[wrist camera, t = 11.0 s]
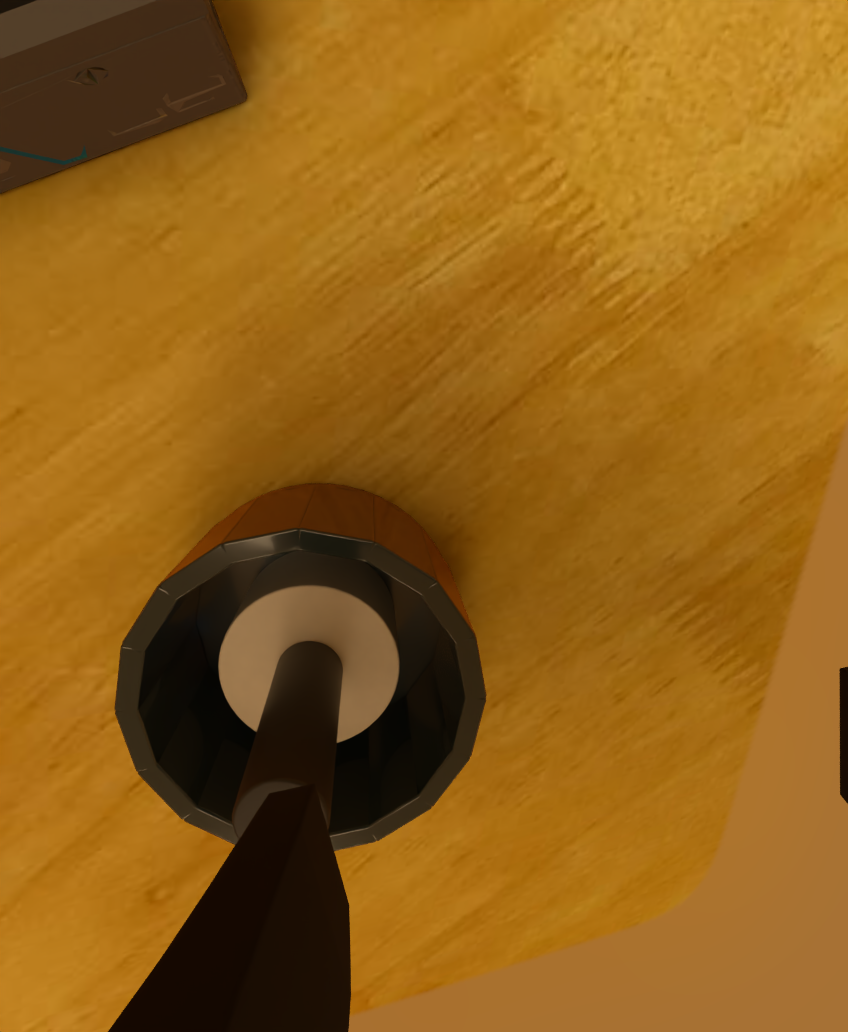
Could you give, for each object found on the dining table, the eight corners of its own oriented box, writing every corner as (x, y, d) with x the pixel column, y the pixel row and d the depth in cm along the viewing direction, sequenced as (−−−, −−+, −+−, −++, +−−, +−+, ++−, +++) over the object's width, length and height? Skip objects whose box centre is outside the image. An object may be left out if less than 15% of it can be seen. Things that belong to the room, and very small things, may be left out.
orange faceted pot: (504, 575, 18) (553, 652, 13) (361, 769, 20) (358, 903, 15) (276, 428, 17) (238, 456, 12) (135, 651, 18) (48, 759, 13)
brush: (423, 597, 18) (465, 781, 10) (342, 710, 18) (323, 963, 11) (294, 518, 17) (231, 653, 9) (214, 640, 17) (91, 862, 10)
